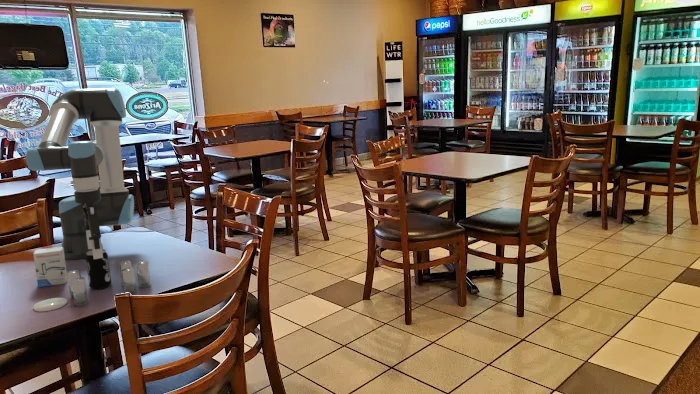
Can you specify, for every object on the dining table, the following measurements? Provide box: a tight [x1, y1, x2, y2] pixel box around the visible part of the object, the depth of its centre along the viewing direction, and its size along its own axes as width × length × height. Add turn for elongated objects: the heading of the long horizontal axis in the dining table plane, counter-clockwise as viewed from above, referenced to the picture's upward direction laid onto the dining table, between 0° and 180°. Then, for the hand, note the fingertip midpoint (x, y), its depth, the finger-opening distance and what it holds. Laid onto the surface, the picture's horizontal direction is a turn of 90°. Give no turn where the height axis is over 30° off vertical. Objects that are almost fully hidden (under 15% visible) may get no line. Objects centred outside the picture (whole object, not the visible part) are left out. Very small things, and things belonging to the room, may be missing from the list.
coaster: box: [32, 297, 68, 313], centre depth 156 cm, size 9×9×1 cm
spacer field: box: [67, 260, 151, 308], centre depth 163 cm, size 12×23×8 cm, turn 123°
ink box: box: [33, 246, 68, 288], centre depth 173 cm, size 9×5×12 cm, turn 114°
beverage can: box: [84, 248, 112, 290], centre depth 169 cm, size 7×7×12 cm
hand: (95, 253), depth 169 cm, fingers open, 13 cm apart
